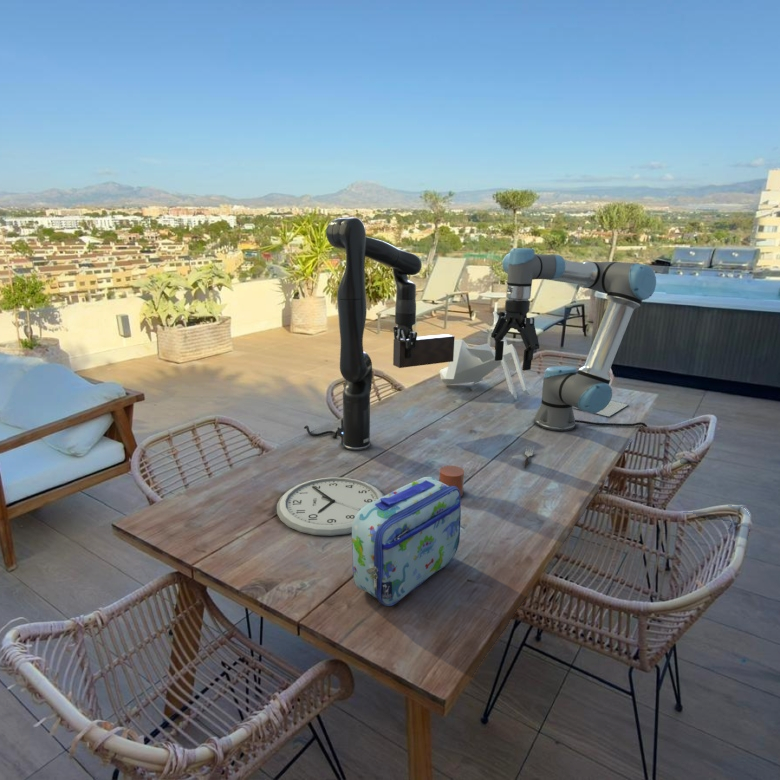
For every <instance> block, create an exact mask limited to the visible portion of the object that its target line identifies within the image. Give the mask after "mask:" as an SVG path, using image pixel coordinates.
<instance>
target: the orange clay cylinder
mask: <svg viewBox="0 0 780 780" xmlns="http://www.w3.org/2000/svg"><path fill="white" fill-rule="evenodd" d="M438 481H440V482H442V483H444V484H446V485H447V486H454V487H457V488H458V489H459V491H460V498H462V497H463V495H464V483H465V470H464V469H463V468H462V467H460V466H458V465H443V466H442V467H440V468H439V473H438Z"/></svg>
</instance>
